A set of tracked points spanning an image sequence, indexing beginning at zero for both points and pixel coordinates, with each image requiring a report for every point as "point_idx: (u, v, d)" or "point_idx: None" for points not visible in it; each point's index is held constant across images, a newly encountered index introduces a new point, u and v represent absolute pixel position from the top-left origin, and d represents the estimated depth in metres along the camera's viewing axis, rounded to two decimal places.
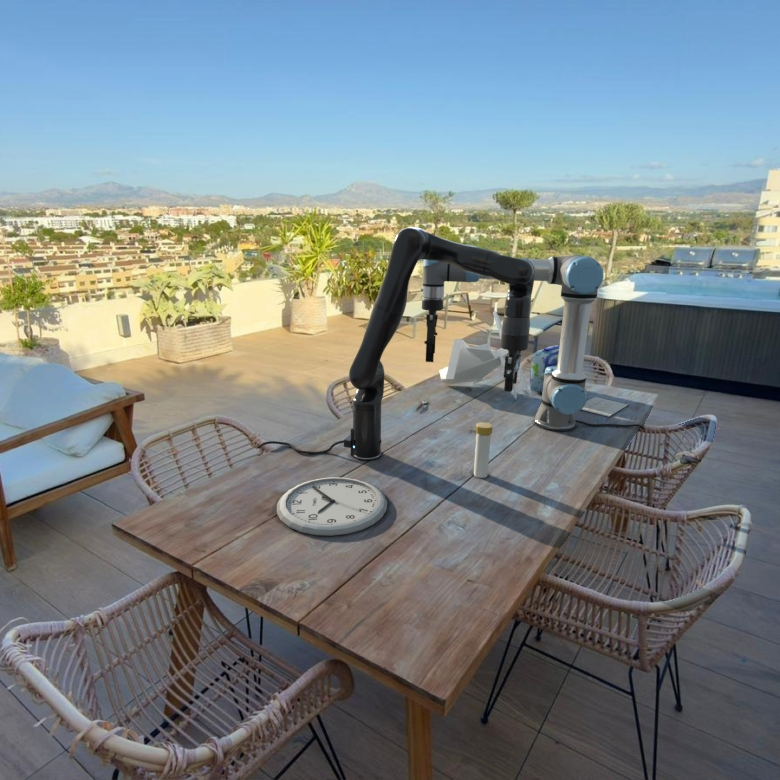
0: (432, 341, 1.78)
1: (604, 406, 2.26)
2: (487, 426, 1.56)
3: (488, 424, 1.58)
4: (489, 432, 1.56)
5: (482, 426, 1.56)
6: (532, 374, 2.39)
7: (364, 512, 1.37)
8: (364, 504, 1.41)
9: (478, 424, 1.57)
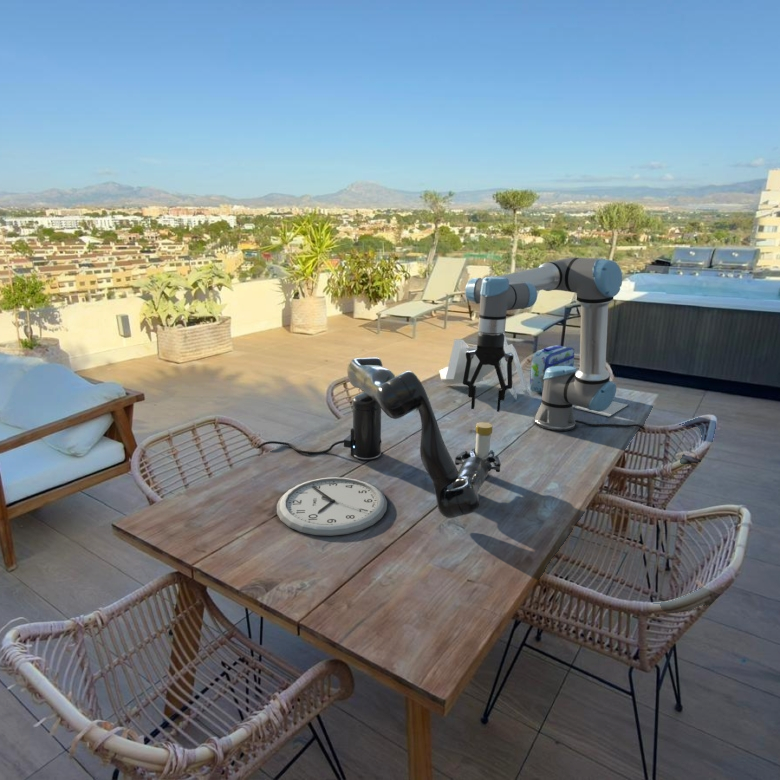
0: (463, 382, 1.54)
1: None
2: (487, 426, 1.56)
3: (488, 424, 1.58)
4: (489, 432, 1.56)
5: (482, 426, 1.56)
6: (532, 374, 2.39)
7: (364, 512, 1.37)
8: (364, 504, 1.41)
9: (478, 424, 1.57)
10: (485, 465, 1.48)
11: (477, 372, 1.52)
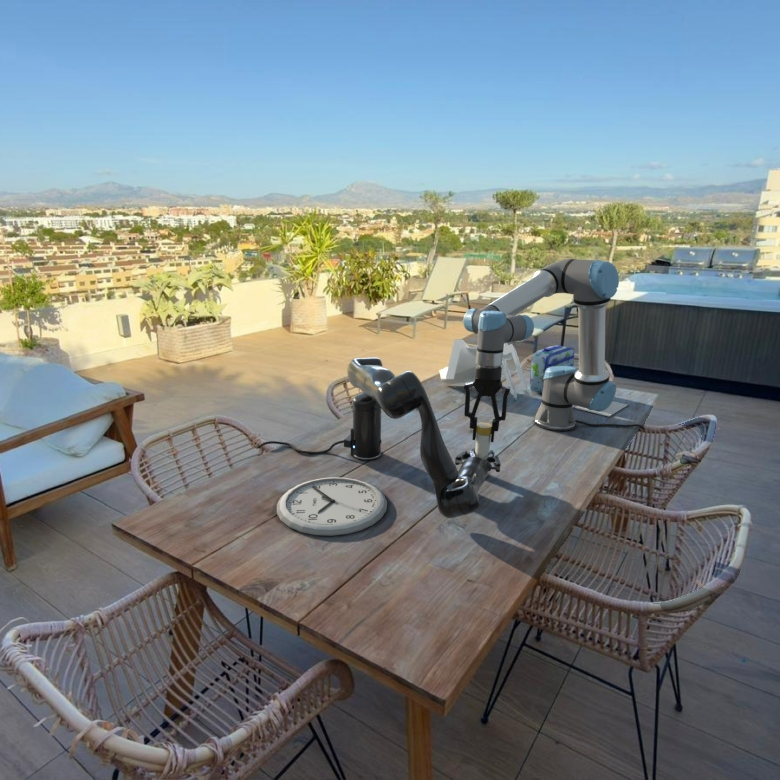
0: None
1: None
2: (487, 426, 1.56)
3: (488, 424, 1.58)
4: (489, 432, 1.56)
5: (482, 426, 1.56)
6: (532, 374, 2.39)
7: (364, 512, 1.37)
8: (364, 504, 1.41)
9: (478, 424, 1.57)
10: (485, 465, 1.48)
11: (477, 404, 1.54)
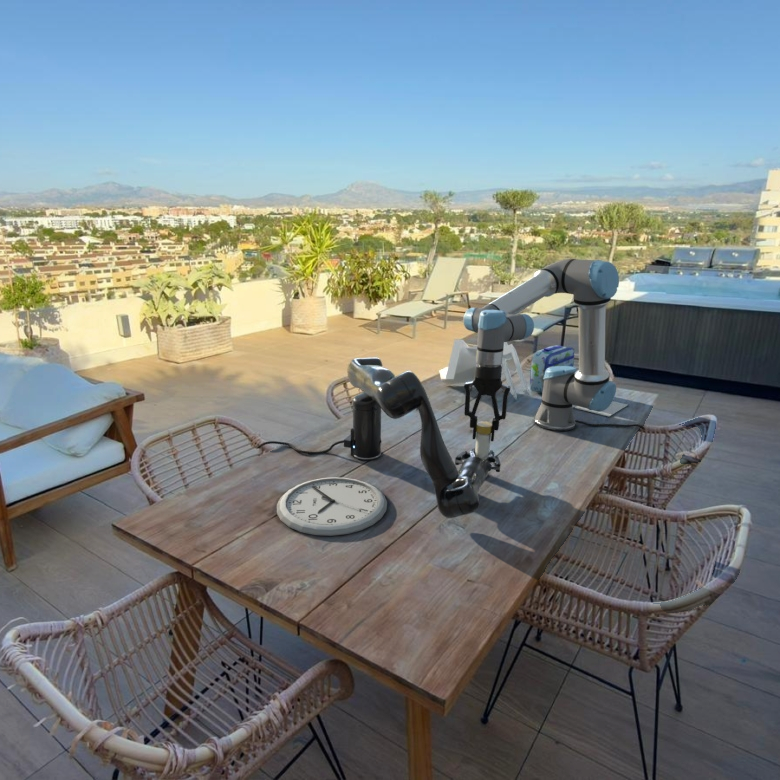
0: None
1: None
2: (486, 422, 1.58)
3: (480, 422, 1.58)
4: None
5: (489, 424, 1.57)
6: (532, 374, 2.39)
7: (364, 512, 1.37)
8: (364, 504, 1.41)
9: (485, 426, 1.55)
10: (485, 465, 1.48)
11: (477, 403, 1.54)
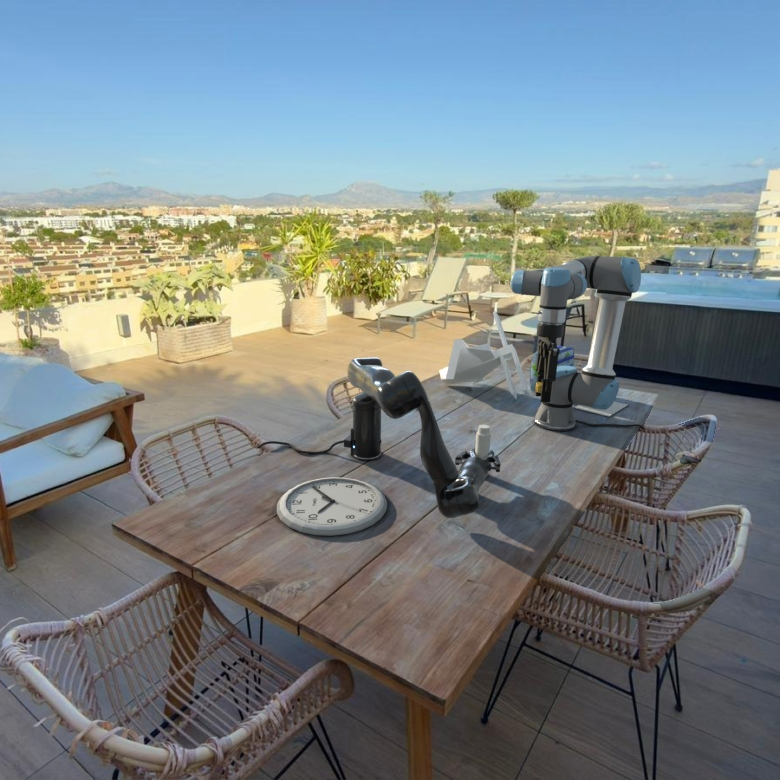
0: (554, 379, 1.51)
1: None
2: (539, 383, 1.58)
3: None
4: None
5: None
6: (532, 374, 2.39)
7: (364, 512, 1.37)
8: (364, 504, 1.41)
9: None
10: (485, 465, 1.48)
11: None
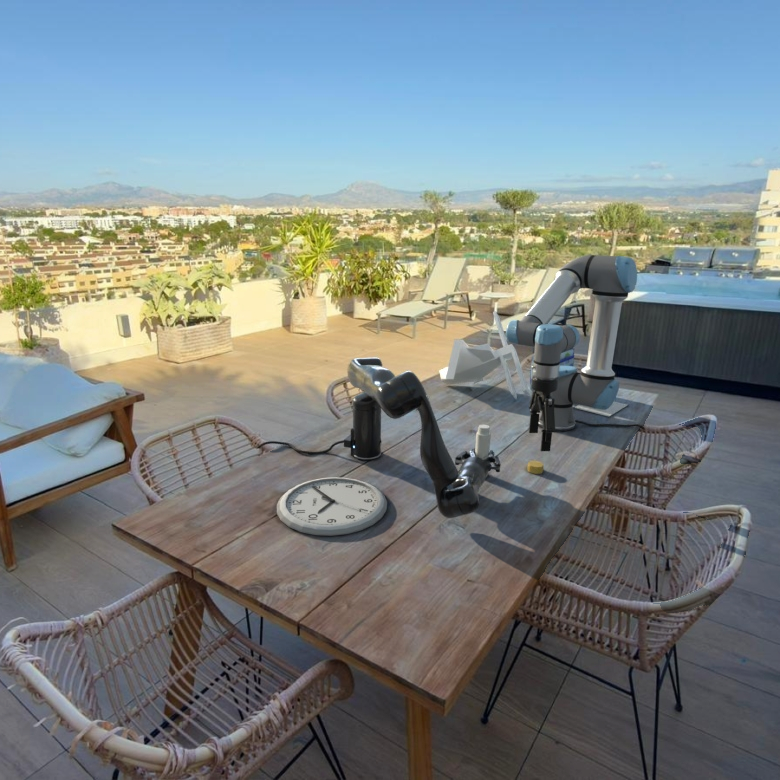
0: (553, 430, 1.52)
1: None
2: (531, 462, 1.65)
3: (533, 465, 1.64)
4: None
5: (534, 461, 1.66)
6: (532, 374, 2.39)
7: (364, 512, 1.37)
8: (364, 504, 1.41)
9: (540, 463, 1.65)
10: (485, 465, 1.48)
11: None
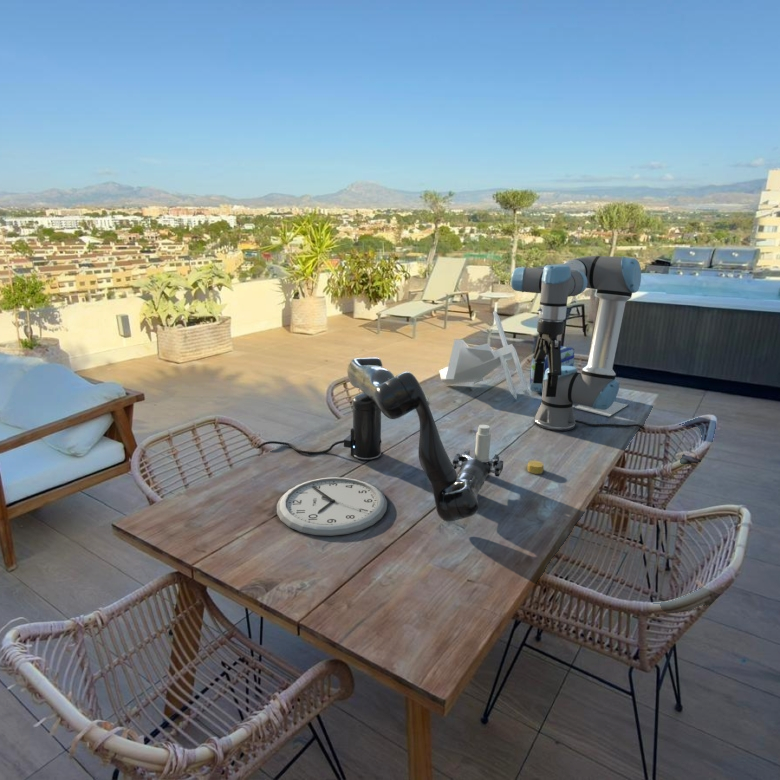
0: (560, 373, 1.46)
1: None
2: (531, 462, 1.65)
3: (533, 465, 1.64)
4: None
5: (534, 461, 1.66)
6: (532, 374, 2.39)
7: (364, 512, 1.37)
8: (364, 504, 1.41)
9: (540, 463, 1.65)
10: (484, 468, 1.47)
11: None
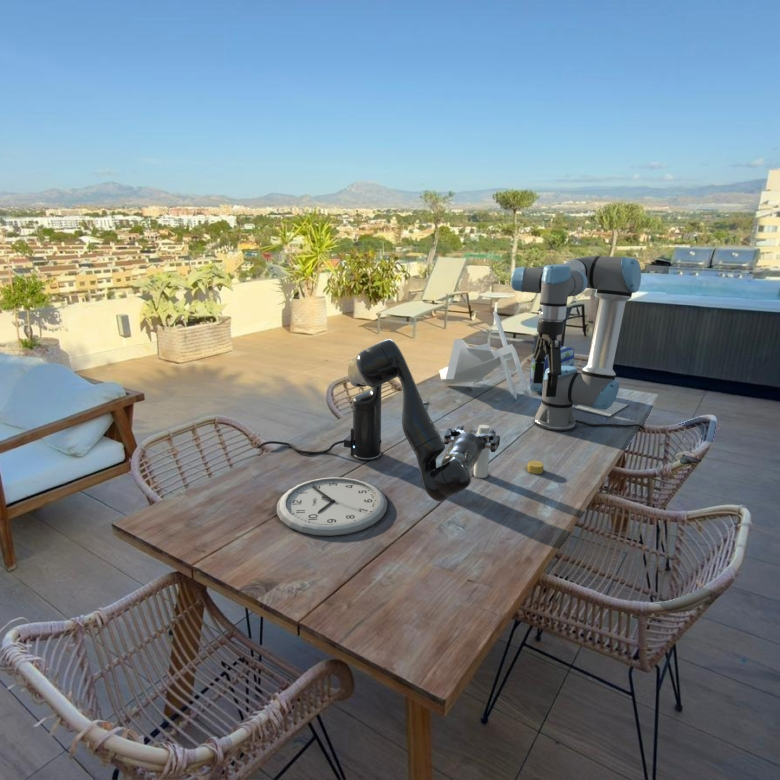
0: (560, 373, 1.46)
1: None
2: (531, 462, 1.65)
3: (533, 465, 1.64)
4: None
5: (534, 461, 1.66)
6: (532, 374, 2.39)
7: (364, 512, 1.37)
8: (364, 504, 1.41)
9: (540, 463, 1.65)
10: (479, 442, 1.32)
11: None
